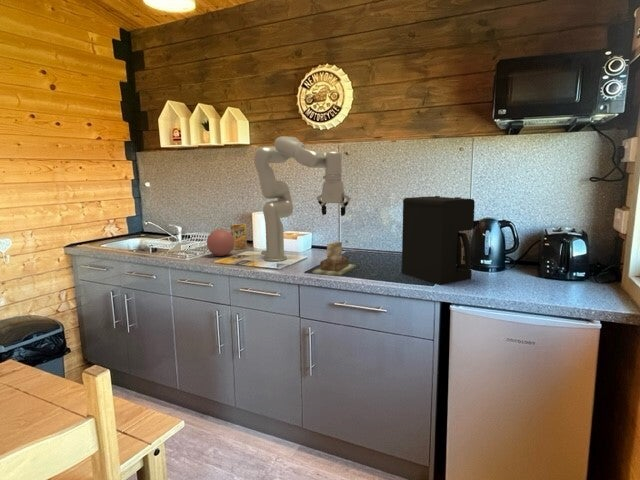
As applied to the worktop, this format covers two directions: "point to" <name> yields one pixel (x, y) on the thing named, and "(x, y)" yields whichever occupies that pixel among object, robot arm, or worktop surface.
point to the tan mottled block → (334, 251)
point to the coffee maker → (437, 238)
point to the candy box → (239, 235)
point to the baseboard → (177, 248)
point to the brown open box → (334, 267)
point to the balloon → (220, 242)
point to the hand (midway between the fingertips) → (333, 215)
